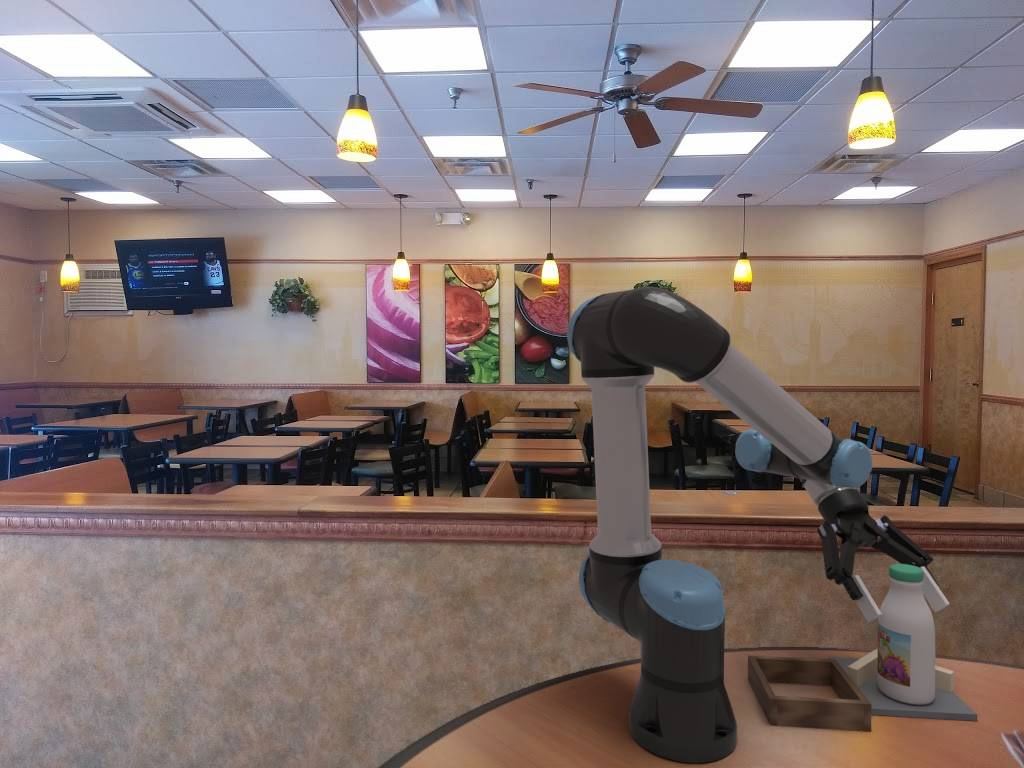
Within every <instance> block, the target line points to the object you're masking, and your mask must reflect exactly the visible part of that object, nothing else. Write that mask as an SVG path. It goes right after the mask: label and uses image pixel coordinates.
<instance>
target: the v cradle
mask: <svg viewBox="0 0 1024 768" xmlns="http://www.w3.org/2000/svg"><path fill="white" fill-rule="evenodd" d="M828 659H836V660H837V662H838V663H839V664H840V665H841V667H842V668H843V669H844V670H845V672H846V673H847V674H848V675H849V677H850V678H851V679H852V680H853V682H854V683H855V684H856V685H857V687H858V688H859V689H860V690H861V692H862V693H863V694H864V695H865V697H866V698H867V699H868V700H869V702H870V703H871V704H872V705H871V716H879V715H889V716H888V717H896V716H898V717H899V718H913V719H916V718H918V719H921V718H922V719H935V720H954V721H972V722H973V721H974V722H977V721H978V713H976V712H975V710H973V709H972V708H971V707H970V706H969V705H968V704H967V703H966V702H965V701H964V700H962V698H960V697H959V696H958V695H957V694H956V693H955V692H954V691H955V671H954V670H951V669H947V668H945V667H941V666H939V665H936V664H935V698H934V700H933V701H932V702H931V703H929V704H924V705H916V704H908V703H904V702H900V701H897V700H894V699H892V698H890V697H888V696H886V695H885V694H883V693H882V692H881V691H880V689H879V687H878V647H877V648H876V649H873V650H872V651H870V652H868V653H867V654H865V655H863V656H862V657H859V658H858V657H839V656H837V657H835V656H828ZM890 715H891V716H890Z"/></svg>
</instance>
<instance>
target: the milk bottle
mask: <svg viewBox="0 0 1024 768" xmlns="http://www.w3.org/2000/svg"><path fill="white" fill-rule="evenodd" d="M888 575H889V577H888V579H889V581H890V586H889V589H888V592H887V594H886V596H885V597H884V600H883V601H882V603H881V606H880V608H879V610H880V612H881V613H882V615H881V616H879V617H878V618H877V648H878V687H879V689H880V691H881V692H882V693H883V694H885V695H886V696H888V697H890V698H892V699H894V700H897V701H900V702H904V703H908V704H916V705H924V704H929V703H931V702H932V701H933V700H934V698H935V665H936V629H935V628H936V626H935V621H934V617H933V613H932V611H931V609H930V607H929V605H928V603H927V601H926V597H925V596H924V594H923V592H922V584H923V577H924V574H923V570H922V569H921V568H919V567H916V566H913V565H907V564H901V563H893V564H891V565H889V567H888Z"/></svg>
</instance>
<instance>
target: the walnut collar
mask: <svg viewBox="0 0 1024 768" xmlns="http://www.w3.org/2000/svg"><path fill="white" fill-rule="evenodd" d="M747 681H748V683H749V684H750V686H751V688H752V691H753V693H754V695H755V697H756V699H757V702H758V703H759V706H760V708H761V709H762V712H763V714H764V716H765V718H766V720H767V722H768V724H769V726H776V727H787V728H788V727H792V728H793V727H794V728H808V729H823V730H824V729H826V730H839V731H840V730H842V731H858V732H859V731H861V732H872V715H871V705H872V704H871V703H870V702H869V700H868V699H867V698H866V697H865V695H864V694H863V693H862V692H861V690H860V689H859V688H858V687H857V685H856V684H855V683H854V682H853V680H852V679H851V678H850V677H849V675H848V674H847V673H846V672H845V670H844V669H843V668H842V667H841V665H840V664H839V663H838V662H837V660H836V659H829V658H814V657H813V658H812V657H796V656H795V657H794V656H793V657H790V656H769V655H766V656H765V655H747ZM771 683H772V684H787V685H790V684H791V685H805V686H806V685H807V686H808V685H812V686H826V687H827V686H828V687H832V689H833V690H834V692H835V693H836V694H837V696H838V697H839V698H828V697H827V698H825V697H810V696H809V697H808V696H794V695H793V696H787V695H775V693H774V691H773V689H772V687H771V685H770V684H771Z"/></svg>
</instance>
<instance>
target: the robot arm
mask: <svg viewBox="0 0 1024 768" xmlns="http://www.w3.org/2000/svg"><path fill="white" fill-rule="evenodd" d="M569 319H570V320H569V322H568V325H567V331H566V332H567V336H566V337H567V343H568V347H569V350H570V352H571V354H572V355H574V356H575V358H576V360H578V361H579V362H580V372H581V374H580V375H581V377H580V378H581V381H583V382H584V383H585V384H586V385H587V386H588V387H589V388H590V389H591V390H590V391H591V407H592V408H591V409H592V428H593V431H592V432H593V450H594V451H593V453H594V470H595V471H594V472H595V473H594V475H595V476H594V477H595V494H596V495H595V496H596V497H595V498H596V513H597V514H596V515H597V516H596V517H597V518H596V519H597V520H596V521H597V533H596V535H595V536H594V537H593V538H592V539H591V540H590V542H589V545H588V546H589V552H588V553H587V554H586V555H585V560H584V561H582V562H581V565H580V568H579V574H578V584H579V590H580V594H581V596H582V597H583V600H584V602H585V603H586V604H587V605H588V606H589V608H591V610H592V611H594V612H595V613H596V615H598V616H599V617H601V618H602V619H603V620H604V621H606V622H608V623H611V624H612V625H614V626H616V627H617V628H618V629H620V630H622V631H623V632H625V633H626V634H628V635H629V636H630V637H632V638H634V639H635V640H637V641H638V642H639V643H640V676H639V679H638V682H637V685H636V688H635V691H634V694H633V697H632V700H631V702H630V706H629V709H628V710H629V711H628V725H629V726H628V728H629V732H630V735H631V736H632V738H633V739H634V740H635V742H637V743H638V744H639V745H640V746H641V747H642V748H644V749H646V750H647V751H648V750H649V752H650V751H651V752H650V753H652V752H653V754H654V753H655V754H654V755H657V756H659V757H662V758H664V759H668V760H671V761H675V762H676V761H677V762H681V763H682V762H683V763H696V764H697V763H699V764H700V763H701V764H702V763H708V762H715V761H717V760H720V759H723V758H724V757H727V756H728V755H730V754H731V753H732V752H733V751H734V750H735V748H736V746H737V743H738V725H737V719H736V715H735V713H734V711H733V710H734V709H733V706H732V704H731V700H730V698H729V695H728V692H727V689H726V686H725V685H726V684H725V630H726V628H725V627H726V626H725V625H726V624H725V623H726V622H725V621H726V618H725V617H726V606H725V605H726V604H725V601H724V589H723V586H722V584H721V582H720V579H718V578H717V576H716V575H715V574H713V572H711V571H710V570H708V569H707V568H704V567H703V566H700V565H698V564H694V563H692V562H683V561H682V560H678V559H663V553H662V551H663V550H662V542H661V541H660V540H659V539H658V538H657V537H656V536H655V535H654V534H653V533H652V521H651V520H652V519H651V518H652V517H651V495H650V473H649V472H650V471H649V470H650V469H649V453H648V452H649V448H648V425H647V403H646V402H647V401H646V399H647V398H646V386H647V385H648V383H650V381H651V380H652V379H654V377H655V368H659V369H662V370H664V371H667V372H669V373H672V374H673V375H674V376H676V377H677V378H678V379H679V380H680V381H682V382H684V383H686V384H694V383H695V384H697V385H698V386H700V387H701V388H702V389H703V390H705V392H707V393H708V394H709V395H711V396H712V397H713V398H714V399H716V401H718V402H720V404H722V405H724V406H725V407H726V408H727V409H728V410H729V411H731V412H732V413H733V414H734V415H736V417H738V418H740V419H741V420H742V421H743V422H744V423H746V424H747V425H748V426H750V429H747V430H744V431H743V432H741V434H740V435H739V436H738V438H737V439H736V442H735V451H734V452H735V453H734V454H735V458H736V461H737V462H738V464H739V465H740V466H741V468H743V469H745V470H747V471H750V472H751V471H753V472H755V473H770V474H775V475H781V476H787V477H790V478H791V477H792V478H796V479H799V481H800V482H801V484H802V486H803V487H804V488H805V489H804V490H805V491H807V493H808V496H809V497H810V498H811V500H812V503H813V504H814V505H815V506H816V507H817V511H818V512H819V514H820V516H821V517H822V519H823V521H824V522H823V523H822V524H821V525H820V526H819V527H817V529H816V531H817V533H818V536H819V538H820V540H821V546H822V547H821V548H822V555H823V562H824V563H823V564H824V573H825V577H826V580H827V579H828V580H829V581H832V580H833V581H834V582H835V584H836V585H838V586H840V585H842V586H843V587H844V589H845V591H846V592H847V594H848V597H850V599H851V600H852V601H855V603H856V605H857V606H858V608H859V610H860V612H861V613H862V615H863V617H864V618H865V620H866V622H867V623H872V622H873V621H875V620H876V619H878V617H879V616H881V615H882V613H881V612H880V608H879V606H878V605H877V604H876V601H875V600H874V599H873V597H872V595H871V593H870V592H869V590H868V588H867V587H866V585H865V583H864V581H863V580H862V578H861V577H860V576H859V574H855V575H853V572H854V565H855V558H856V551H857V549H861V548H870V547H871V548H872V549H874V550H880V551H881V552H882V553H884V554H885V555H887V556H889V557H890V558H892V559H893V560H894V561H896V562H898V564H907V565H913V566H916V567H919V568H921V569H922V570H923V574H924V577H923V584H922V592H923V595H924V598H925V600H927V602H928V604H929V606H931V609H932V610H933V611H934V612H936V613H938V612H940V611H941V610H943V609H944V608H946V607H948V606H949V605H950V603H951V602H949V601H948V599H947V597H946V596H945V595H944V593H943V592H942V590H941V589H940V587H939V584H938V582H937V580H936V579H935V577H934V576H933V574H932V572H931V571H930V570H929V568H928V566H929V565H930V564H931V563H933V561H934V559H933V557H932V556H931V555H930V554H929V553H928V552H926V551H925V549H923V548H922V547H920V546H919V545H918V543H916V542H914V541H913V540H912V539H911V538H910V537H908V535H906V534H905V533H904V532H903V531H902V530H900V529H899V528H898V527H897V526H896V525H895V524H894V523H893V522H892V520H891V519H890V518H889V516H887V515H885V514H884V515H883V516H881V517H880V518H879V519H874V518H873V517H872V516H871V515H870V512H869V510H870V509H869V508H870V506H869V504H868V503H867V501H866V500H865V499H864V497H863V495H862V494H861V492H860V491H859V490H858V489H857V488H859V487H860V486H862V485H864V484H865V483H866V482H867V480H869V476H870V474H871V472H872V471H873V470H872V469H873V456H872V453H871V450H870V448H869V447H868V446H867V445H866V444H864V443H863V442H861V441H857V440H853V439H850V438H846V439H844V438H841V437H839V436H838V435H837V434H836V433H834V432H833V431H832V430H831V429H829V428H828V427H827V426H826V425H825V424H823V422H821V421H820V420H819V419H818V418H817V417H816V416H815V415H813V414H812V412H810V411H809V410H808V409H806V408H805V407H804V406H803V405H802V404H801V403H799V402H798V401H797V400H796V399H795V398H794V397H793V396H791V394H790V393H788V392H787V391H786V390H785V389H784V388H782V387H781V386H780V385H779V384H778V383H777V382H775V380H773V379H772V378H771V377H770V376H769V375H767V374H766V373H765V372H764V371H763V370H762V369H761V368H760V367H758V366H757V365H756V364H755V363H754V362H752V360H751V359H749V358H748V357H747V356H746V355H744V353H742V352H741V351H740V350H739V349H738V348H736V346H734V345H733V344H732V337H731V334H730V332H729V331H728V330H727V329H726V328H725V327H724V326H723V325H721V323H719V322H718V321H717V320H716V319H715V318H713V317H712V316H710V315H709V314H708V313H707V312H705V311H704V310H703V309H701V308H700V307H699V306H697V305H696V304H694V303H692V302H691V301H689V300H688V299H686V298H684V297H682V296H681V295H679V294H676V293H675V292H671V291H669V290H667V289H664V288H660V287H654V286H643V287H642V286H641V287H637V288H634V289H633V288H632V289H629V290H621V291H614V292H613V291H612V292H607V293H601V294H599V295H596V296H595V297H592V298H589V299H587V300H586V301H584V302H582V303H581V304H580V305H579V306H578V307H577V308H576V309H575V310H574V312H573V314H571V317H570V318H569ZM837 537H839V538H840V545H839V546H838V544H839V543H838V539H837ZM839 550H840V552H839Z"/></svg>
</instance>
